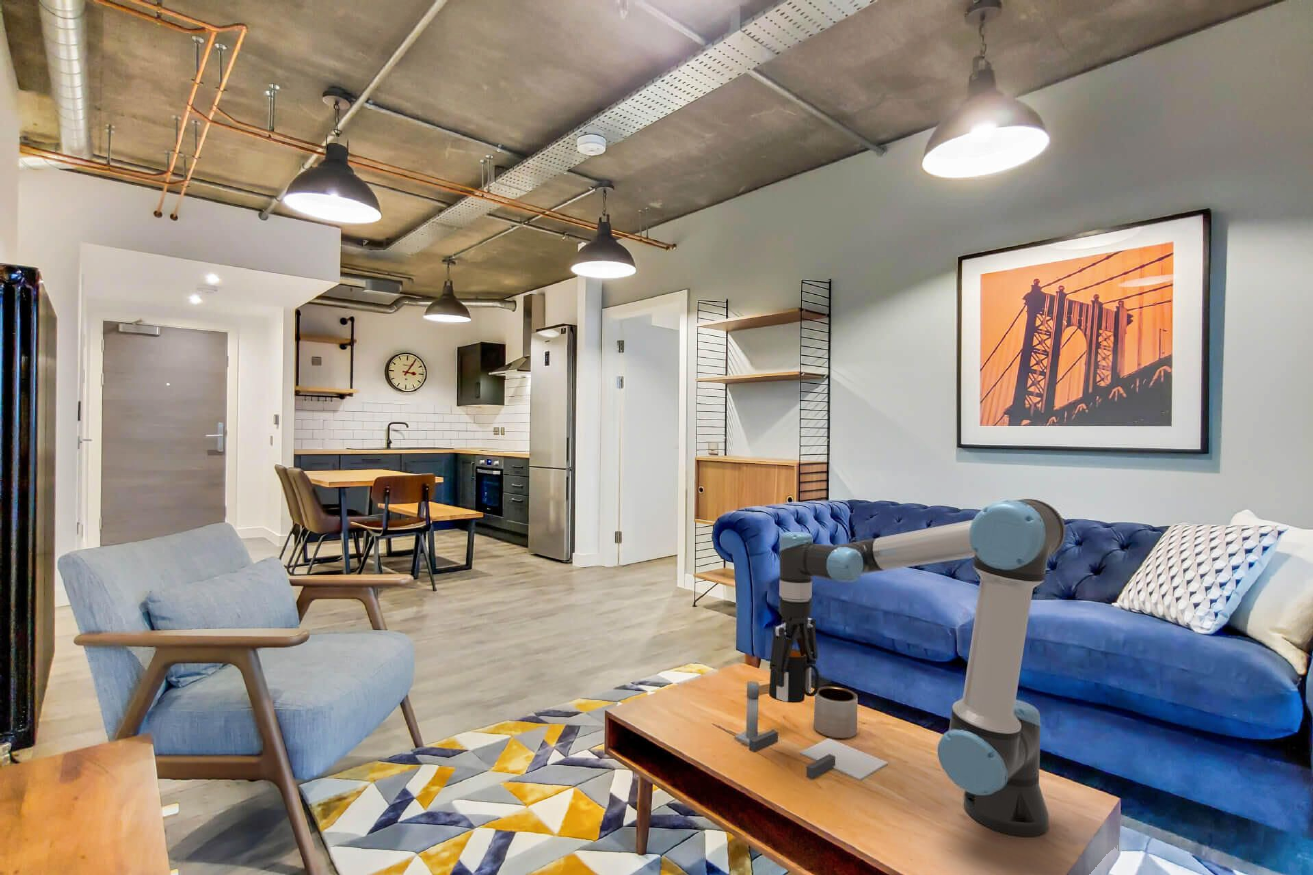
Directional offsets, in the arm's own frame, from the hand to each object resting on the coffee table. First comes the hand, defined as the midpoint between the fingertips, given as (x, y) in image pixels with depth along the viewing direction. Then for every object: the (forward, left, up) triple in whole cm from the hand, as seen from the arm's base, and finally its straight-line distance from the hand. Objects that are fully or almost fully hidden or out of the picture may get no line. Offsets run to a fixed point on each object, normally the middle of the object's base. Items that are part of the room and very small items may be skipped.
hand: (793, 695), depth 154 cm
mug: (0, 0, -1) cm, 1 cm away
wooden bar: (+11, -6, -4) cm, 13 cm away
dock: (+3, 0, -15) cm, 15 cm away
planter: (+2, -21, -15) cm, 26 cm away
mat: (-8, -9, -15) cm, 19 cm away
